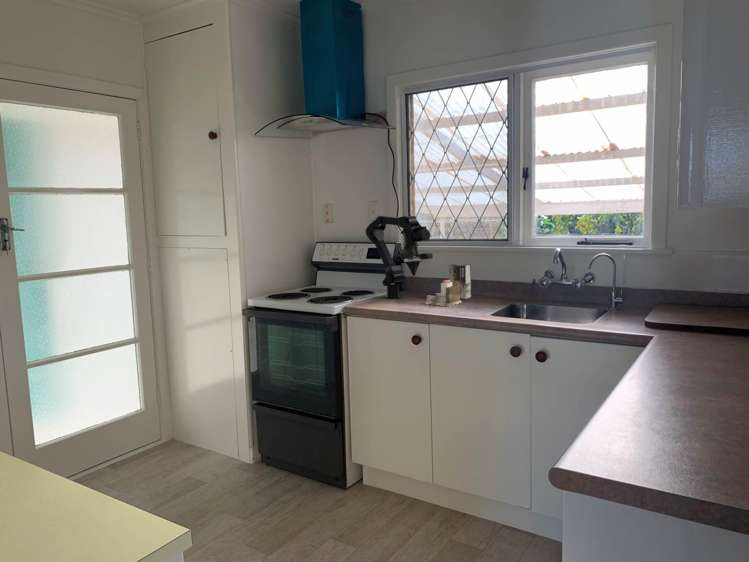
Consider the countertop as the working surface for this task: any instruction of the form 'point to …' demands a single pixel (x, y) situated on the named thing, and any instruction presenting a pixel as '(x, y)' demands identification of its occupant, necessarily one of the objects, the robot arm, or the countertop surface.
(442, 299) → the mount
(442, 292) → the white shaker
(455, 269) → the coffee box
